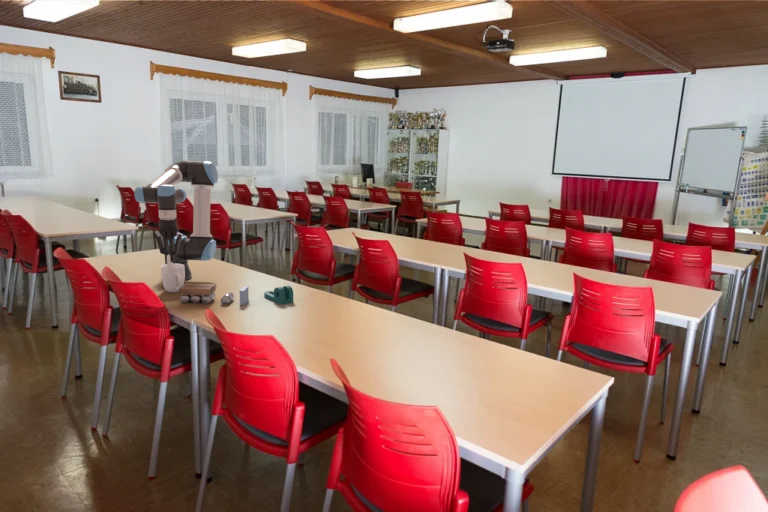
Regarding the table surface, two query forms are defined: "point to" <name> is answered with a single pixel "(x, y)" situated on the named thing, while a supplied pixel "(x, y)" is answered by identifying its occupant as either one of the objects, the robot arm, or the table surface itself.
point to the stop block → (244, 295)
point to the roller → (227, 298)
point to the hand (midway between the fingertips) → (170, 268)
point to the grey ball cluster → (197, 298)
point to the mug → (173, 277)
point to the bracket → (280, 295)
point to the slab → (197, 289)
